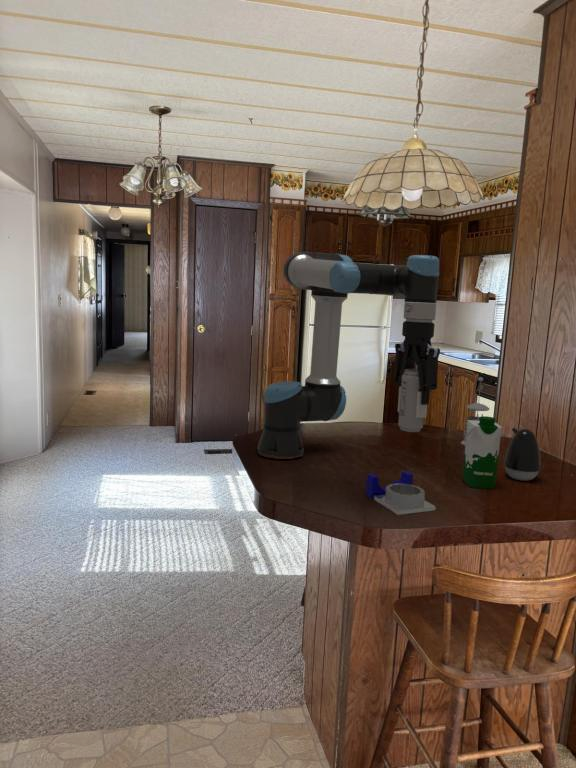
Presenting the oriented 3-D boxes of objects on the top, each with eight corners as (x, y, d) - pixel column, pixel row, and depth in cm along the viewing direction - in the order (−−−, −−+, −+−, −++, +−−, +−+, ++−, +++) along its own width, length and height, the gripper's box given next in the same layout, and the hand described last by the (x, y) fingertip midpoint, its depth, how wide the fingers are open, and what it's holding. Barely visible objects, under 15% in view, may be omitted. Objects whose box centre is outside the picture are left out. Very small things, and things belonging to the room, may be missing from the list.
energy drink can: (420, 433, 139) (425, 372, 137) (395, 430, 141) (400, 370, 139) (424, 428, 145) (428, 369, 142) (400, 425, 147) (404, 367, 144)
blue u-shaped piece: (402, 490, 158) (404, 469, 157) (411, 495, 154) (413, 474, 153) (363, 493, 154) (364, 472, 153) (371, 499, 149) (372, 477, 149)
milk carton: (467, 488, 161) (474, 418, 158) (458, 478, 170) (465, 412, 167) (498, 490, 161) (506, 420, 158) (488, 479, 170) (495, 413, 167)
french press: (485, 441, 216) (492, 376, 213) (492, 449, 205) (499, 380, 201) (458, 439, 218) (464, 374, 214) (463, 447, 206) (470, 378, 203)
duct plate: (374, 499, 149) (375, 484, 148) (409, 495, 153) (410, 480, 153) (398, 514, 139) (399, 499, 138) (435, 510, 143) (436, 494, 143)
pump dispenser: (520, 471, 180) (526, 424, 178) (546, 482, 170) (552, 432, 168) (494, 474, 176) (499, 425, 174) (519, 484, 167) (525, 433, 164)
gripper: (381, 318, 145) (375, 408, 149) (435, 323, 129) (426, 423, 132) (404, 319, 149) (398, 406, 152) (459, 323, 133) (450, 421, 136)
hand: (411, 414), depth 142 cm, fingers closed on energy drink can, 6 cm apart
